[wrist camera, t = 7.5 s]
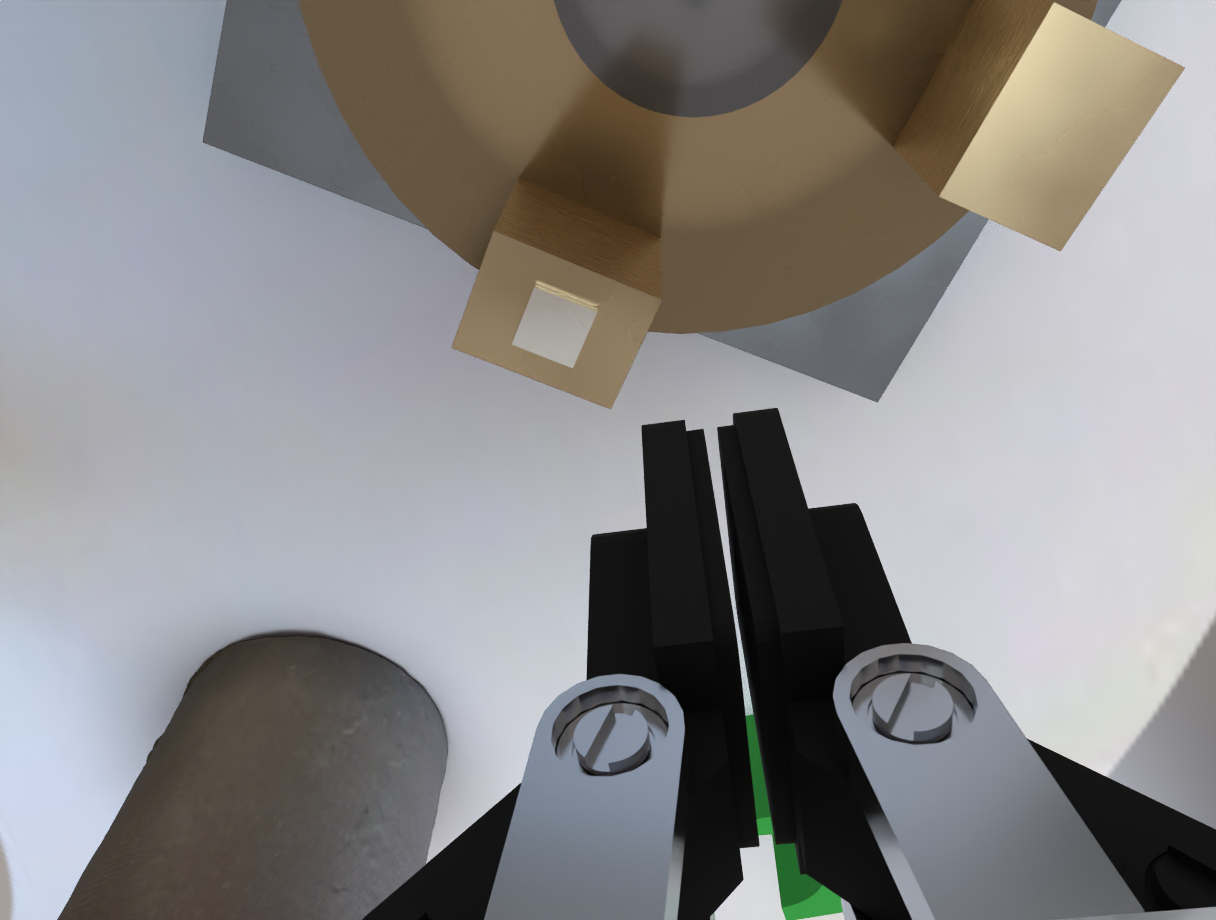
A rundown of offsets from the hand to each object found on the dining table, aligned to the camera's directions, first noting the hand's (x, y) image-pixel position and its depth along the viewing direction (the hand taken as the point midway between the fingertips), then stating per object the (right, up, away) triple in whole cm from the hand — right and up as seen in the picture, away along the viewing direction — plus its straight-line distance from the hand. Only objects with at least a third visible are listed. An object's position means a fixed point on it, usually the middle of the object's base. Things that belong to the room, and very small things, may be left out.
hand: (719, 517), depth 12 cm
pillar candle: (-12, -9, +23) cm, 27 cm away
